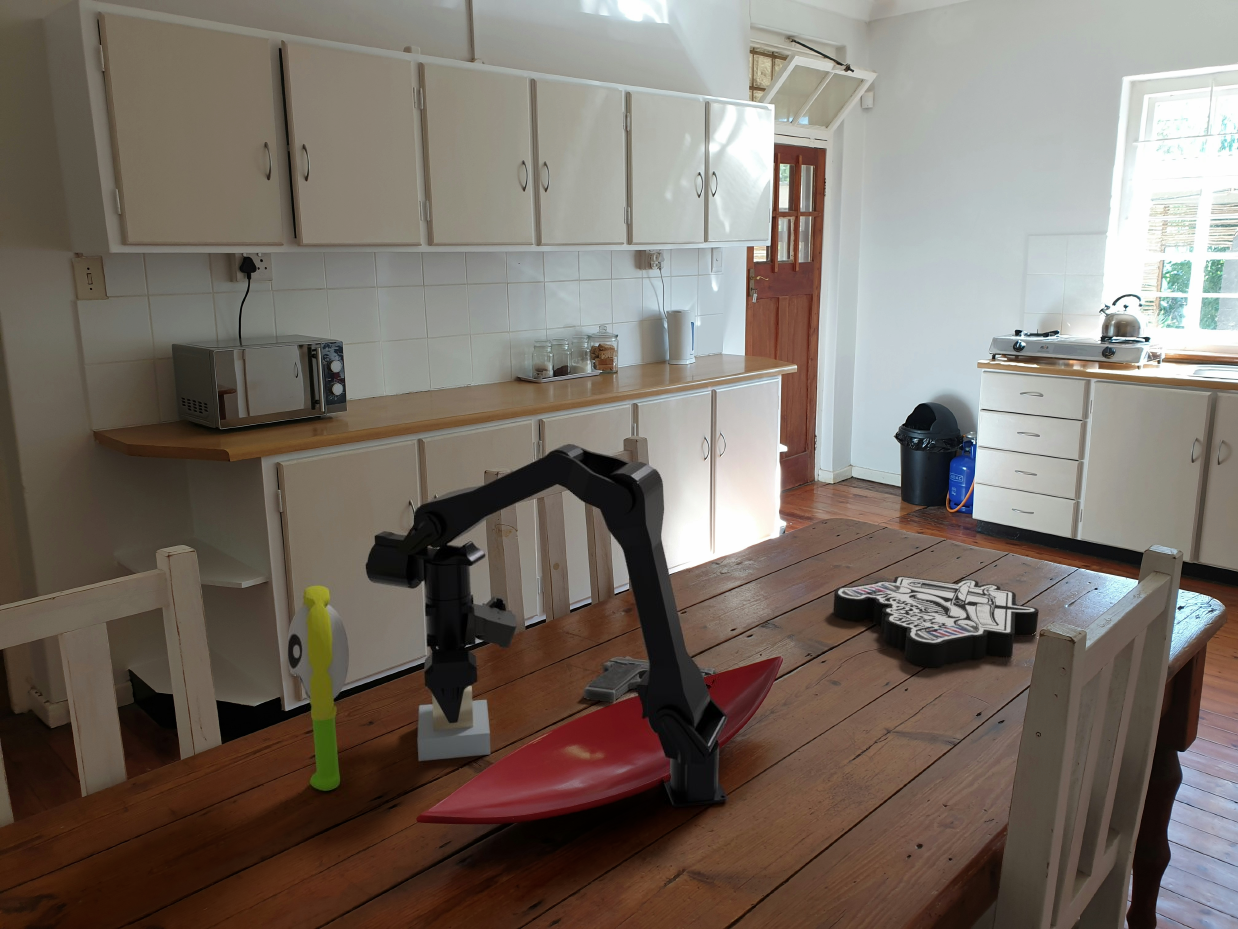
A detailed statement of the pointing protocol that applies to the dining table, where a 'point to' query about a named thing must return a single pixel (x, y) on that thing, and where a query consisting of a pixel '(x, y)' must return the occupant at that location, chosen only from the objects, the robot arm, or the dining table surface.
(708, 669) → the handgun
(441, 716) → the cube
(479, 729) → the base
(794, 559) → the dining table surface
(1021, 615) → the decorative sign
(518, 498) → the robot arm
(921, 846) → the dining table surface
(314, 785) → the toy
